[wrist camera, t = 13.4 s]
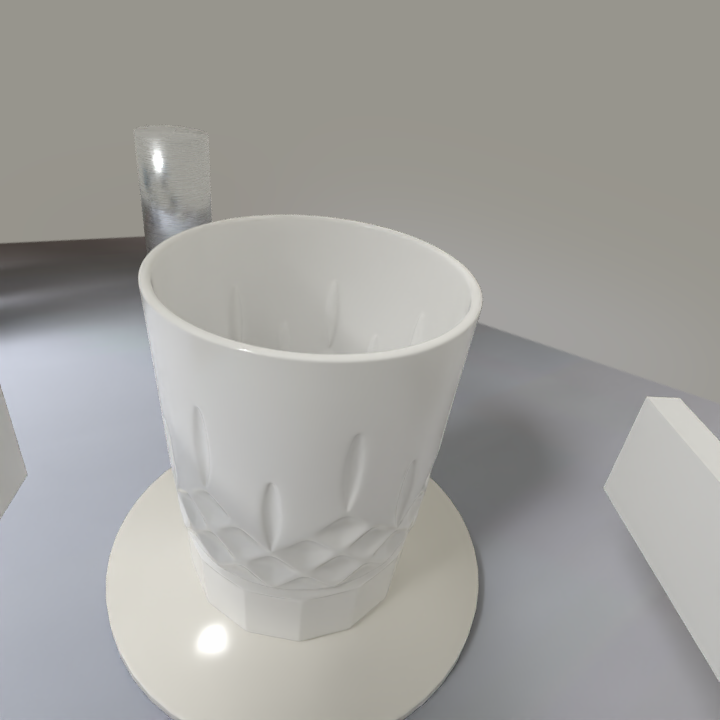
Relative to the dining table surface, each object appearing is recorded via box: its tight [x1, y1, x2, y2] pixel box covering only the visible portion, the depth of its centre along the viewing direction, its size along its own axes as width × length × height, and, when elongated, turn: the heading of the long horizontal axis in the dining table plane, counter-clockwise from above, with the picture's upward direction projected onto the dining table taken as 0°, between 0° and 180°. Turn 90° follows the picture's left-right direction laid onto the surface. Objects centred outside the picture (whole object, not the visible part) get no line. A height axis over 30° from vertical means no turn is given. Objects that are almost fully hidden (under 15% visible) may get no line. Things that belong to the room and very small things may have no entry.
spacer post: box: [134, 125, 212, 255], centre depth 33 cm, size 4×4×9 cm
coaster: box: [106, 468, 478, 720], centre depth 19 cm, size 12×12×1 cm
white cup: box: [138, 215, 483, 641], centre depth 16 cm, size 8×8×10 cm
